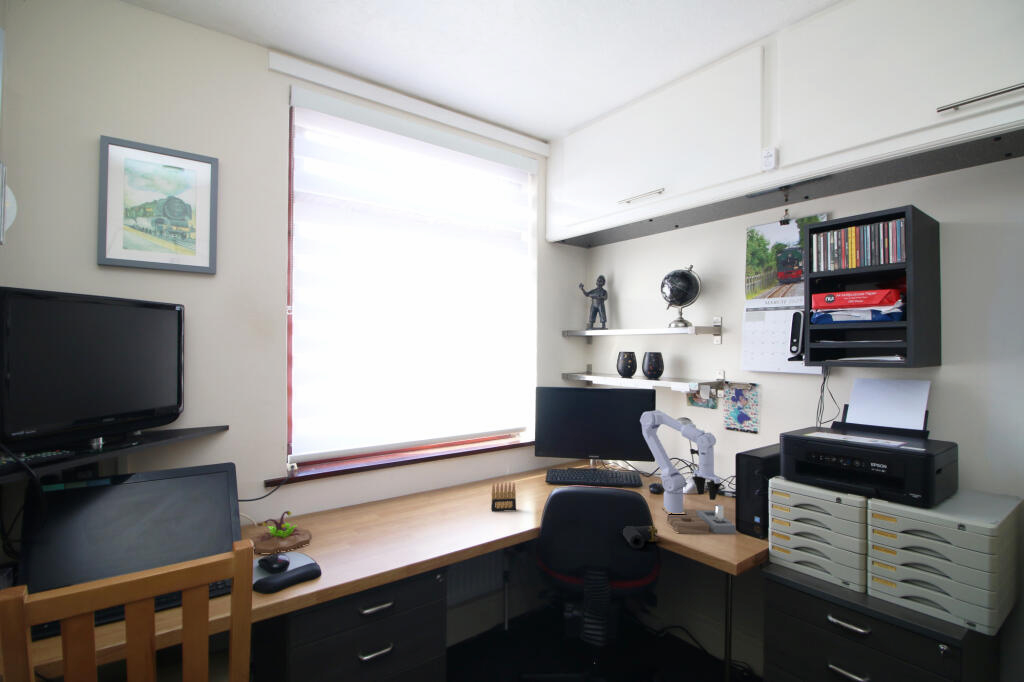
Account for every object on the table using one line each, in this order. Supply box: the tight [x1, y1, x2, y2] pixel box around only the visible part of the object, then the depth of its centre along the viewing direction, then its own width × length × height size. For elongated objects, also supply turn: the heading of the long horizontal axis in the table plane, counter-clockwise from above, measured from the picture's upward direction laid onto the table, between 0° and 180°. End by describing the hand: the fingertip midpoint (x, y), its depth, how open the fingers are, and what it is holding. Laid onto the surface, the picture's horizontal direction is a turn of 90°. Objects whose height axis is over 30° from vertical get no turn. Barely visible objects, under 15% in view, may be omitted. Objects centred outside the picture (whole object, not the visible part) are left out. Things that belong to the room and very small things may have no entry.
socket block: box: [666, 514, 710, 534], centre depth 192 cm, size 12×12×3 cm
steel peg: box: [714, 504, 725, 523], centre depth 190 cm, size 3×3×9 cm
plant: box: [249, 510, 312, 554], centre depth 177 cm, size 20×20×11 cm
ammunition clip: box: [490, 481, 517, 512], centre depth 214 cm, size 11×2×12 cm, turn 98°
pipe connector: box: [622, 525, 659, 550], centre depth 179 cm, size 12×5×15 cm
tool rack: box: [696, 509, 737, 535], centre depth 195 cm, size 18×8×3 cm, turn 0°
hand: (706, 496), depth 201 cm, fingers open, 7 cm apart
